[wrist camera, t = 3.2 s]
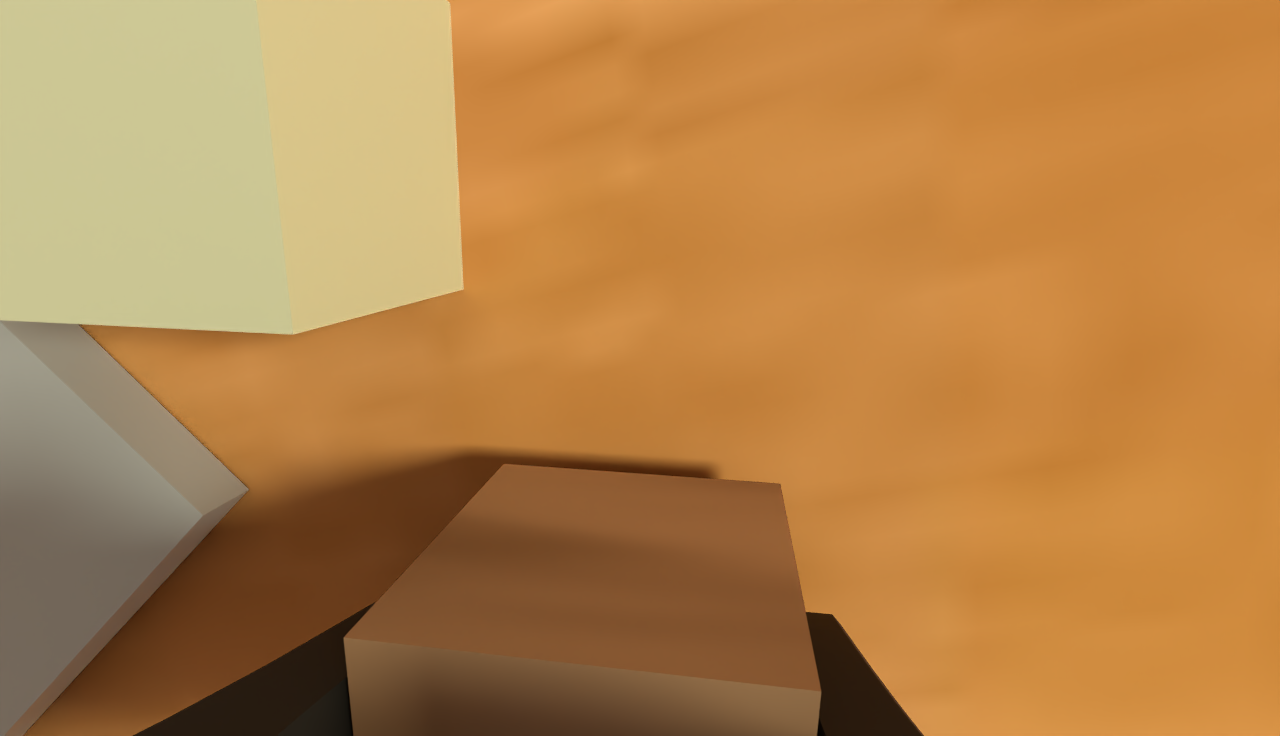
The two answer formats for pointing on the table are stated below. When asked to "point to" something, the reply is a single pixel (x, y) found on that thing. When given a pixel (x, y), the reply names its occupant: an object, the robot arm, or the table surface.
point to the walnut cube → (593, 615)
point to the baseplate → (85, 507)
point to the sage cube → (226, 161)
